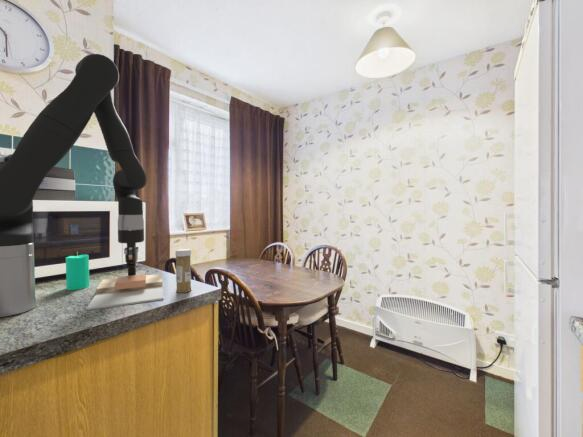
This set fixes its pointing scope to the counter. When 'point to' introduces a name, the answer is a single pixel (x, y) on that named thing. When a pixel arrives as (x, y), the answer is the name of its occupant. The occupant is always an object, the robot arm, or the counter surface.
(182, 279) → the sprinkles bottle
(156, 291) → the mat
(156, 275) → the deck
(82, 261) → the candle
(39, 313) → the counter surface
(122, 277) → the tile
